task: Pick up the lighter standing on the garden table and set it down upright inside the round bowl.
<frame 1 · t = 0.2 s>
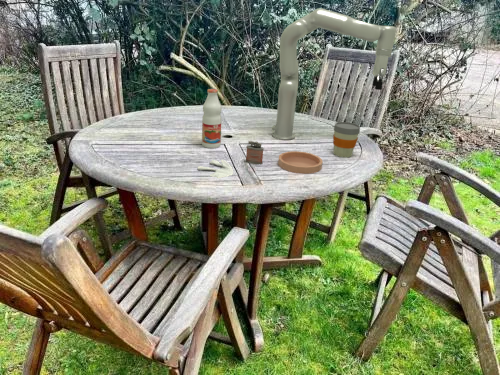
hand: (376, 87, 207), 31 cm above the table, tool pointing down, fingers open, 9 cm apart
cream glove: (214, 169, 179), on the table
fruit juice: (211, 145, 205), on the table
reusable coffee cup: (342, 154, 205), on the table
round bowl: (299, 165, 188), on the table
lighter: (254, 162, 188), on the table
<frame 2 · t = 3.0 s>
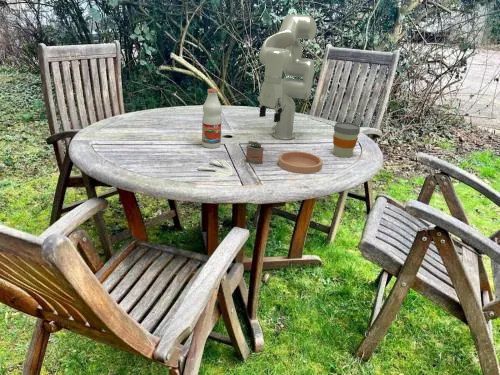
hand: (269, 119, 182), 20 cm above the table, tool pointing down, fingers open, 9 cm apart
nothing on the table moved.
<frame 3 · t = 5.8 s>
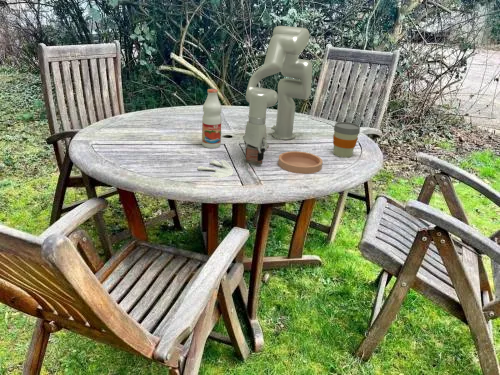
hand: (254, 157, 186), 2 cm above the table, tool pointing down, fingers closed on lighter, 7 cm apart
lighter: (253, 162, 187), on the table, touching gripper
everything else where it was.
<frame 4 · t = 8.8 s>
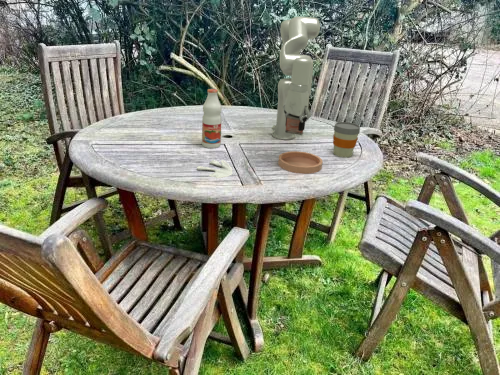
hand: (294, 127, 181), 18 cm above the table, tool pointing down, fingers closed on lighter, 7 cm apart
lighter: (293, 133, 182), point 15 cm above the table, touching gripper
everything else where it was.
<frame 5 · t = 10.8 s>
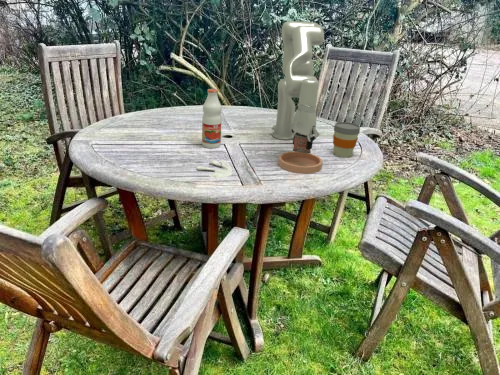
hand: (302, 146, 184), 9 cm above the table, tool pointing down, fingers closed on lighter, 7 cm apart
lighter: (301, 151, 185), point 7 cm above the table, touching gripper
everything else where it was.
when the fingers open (4 cm above the table, at t = 12.3 s): lighter drops 1 cm, resting on round bowl.
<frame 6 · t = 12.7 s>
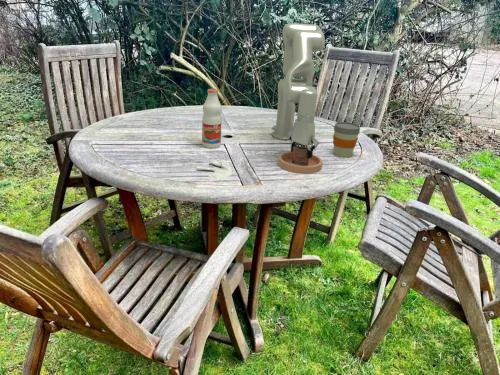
hand: (301, 154, 186), 5 cm above the table, tool pointing down, fingers open, 9 cm apart
lighter: (299, 163, 188), point 1 cm above the table, touching round bowl
everything else where it was.
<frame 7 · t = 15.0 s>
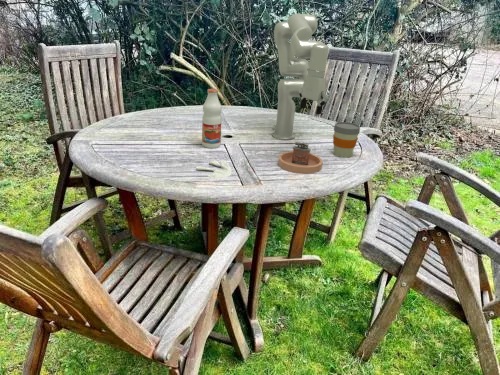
hand: (310, 111, 187), 23 cm above the table, tool pointing down, fingers open, 9 cm apart
nothing on the table moved.
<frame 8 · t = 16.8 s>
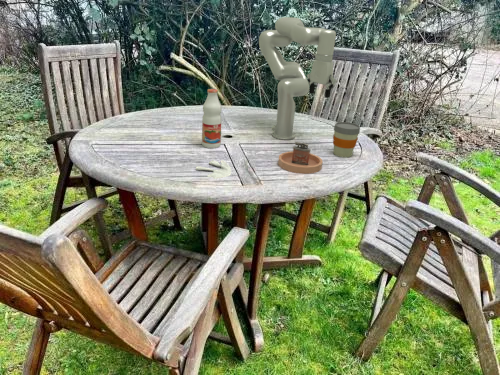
hand: (319, 95, 195), 28 cm above the table, tool pointing down, fingers open, 9 cm apart
nothing on the table moved.
at the end: lighter inside the target area on the round bowl (0.1 cm from its centre), point 0.6 cm above the round bowl's base; lighter tilted 0°; the gripper is holding nothing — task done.
